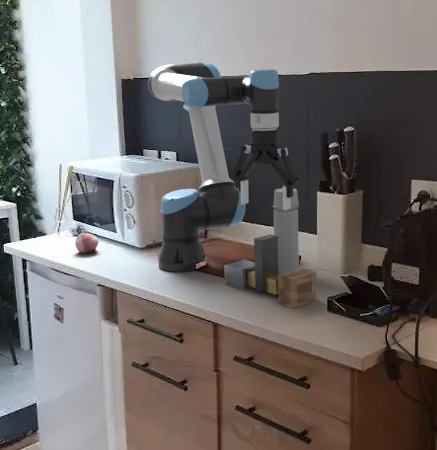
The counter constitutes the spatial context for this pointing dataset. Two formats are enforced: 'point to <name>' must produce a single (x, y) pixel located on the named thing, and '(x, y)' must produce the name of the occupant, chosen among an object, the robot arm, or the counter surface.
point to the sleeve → (238, 273)
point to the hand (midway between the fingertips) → (265, 206)
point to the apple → (86, 243)
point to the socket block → (297, 287)
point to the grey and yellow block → (264, 265)
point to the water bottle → (286, 232)
